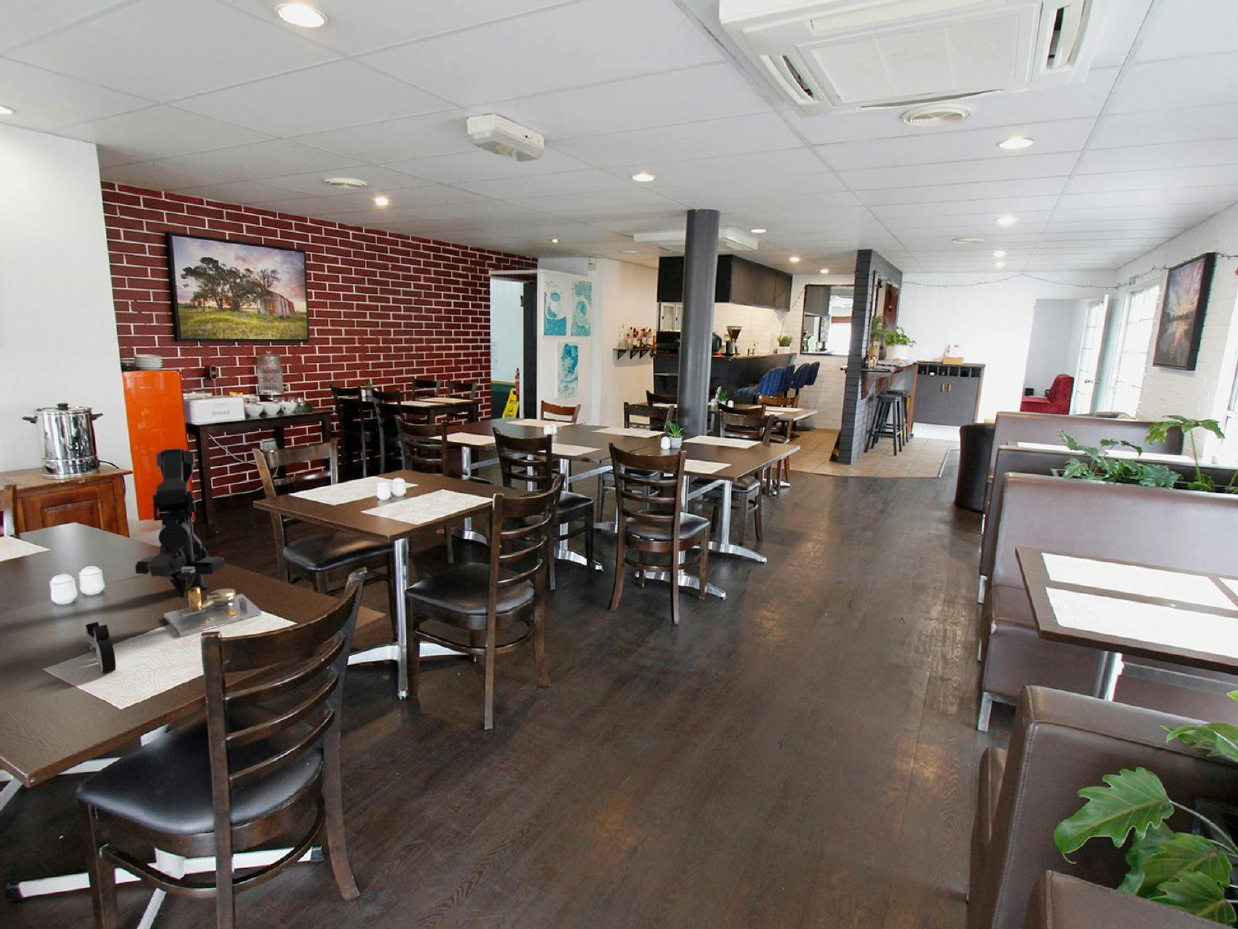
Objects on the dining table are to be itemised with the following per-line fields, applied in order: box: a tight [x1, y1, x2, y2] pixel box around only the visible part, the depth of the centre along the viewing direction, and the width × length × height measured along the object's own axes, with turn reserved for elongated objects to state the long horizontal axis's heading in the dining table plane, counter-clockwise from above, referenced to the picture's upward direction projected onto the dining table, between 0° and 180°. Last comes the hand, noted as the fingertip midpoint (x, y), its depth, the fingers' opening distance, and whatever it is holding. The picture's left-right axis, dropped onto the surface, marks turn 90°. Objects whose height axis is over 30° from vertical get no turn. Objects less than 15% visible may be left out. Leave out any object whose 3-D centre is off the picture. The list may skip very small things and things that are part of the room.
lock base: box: [163, 593, 262, 638], centre depth 165 cm, size 15×18×4 cm
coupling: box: [187, 587, 237, 612], centre depth 165 cm, size 12×6×6 cm, turn 169°
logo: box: [85, 621, 117, 674], centre depth 143 cm, size 21×2×10 cm, turn 46°
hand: (183, 597), depth 161 cm, fingers closed
